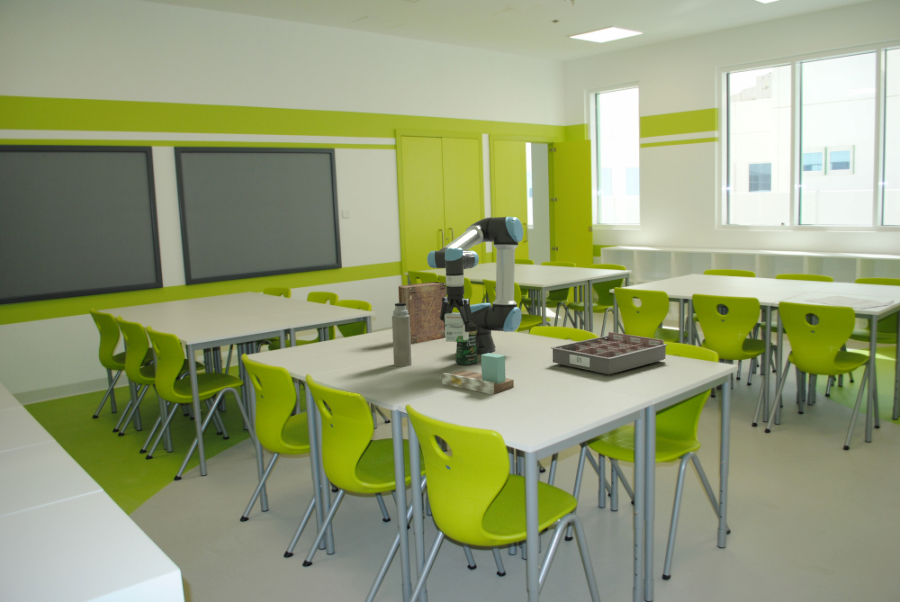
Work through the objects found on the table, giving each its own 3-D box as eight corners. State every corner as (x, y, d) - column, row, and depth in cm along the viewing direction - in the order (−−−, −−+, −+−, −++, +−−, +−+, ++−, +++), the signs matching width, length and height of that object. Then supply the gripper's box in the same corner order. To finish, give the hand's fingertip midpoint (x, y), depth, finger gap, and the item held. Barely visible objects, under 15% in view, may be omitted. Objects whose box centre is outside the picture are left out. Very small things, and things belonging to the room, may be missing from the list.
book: (410, 344, 346) (408, 287, 342) (400, 341, 353) (397, 286, 349) (447, 337, 362) (445, 282, 358) (436, 335, 369) (435, 281, 365)
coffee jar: (462, 366, 292) (461, 324, 289) (453, 363, 298) (452, 322, 296) (480, 363, 297) (479, 322, 294) (470, 360, 303) (469, 320, 301)
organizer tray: (550, 365, 289) (549, 343, 288) (608, 351, 313) (608, 331, 312) (609, 378, 264) (609, 354, 263) (667, 362, 288) (668, 340, 287)
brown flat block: (441, 383, 263) (441, 373, 262) (463, 377, 272) (463, 366, 272) (492, 394, 245) (491, 383, 244) (513, 387, 254) (513, 376, 254)
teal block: (481, 380, 254) (481, 354, 253) (489, 378, 258) (488, 352, 256) (498, 383, 249) (497, 357, 248) (505, 381, 252) (504, 355, 251)
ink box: (468, 339, 279) (467, 312, 277) (464, 342, 275) (464, 314, 273) (449, 339, 282) (448, 311, 280) (445, 341, 277) (444, 313, 276)
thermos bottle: (399, 362, 304) (396, 301, 300) (414, 363, 301) (412, 302, 297) (390, 365, 297) (388, 304, 293) (406, 367, 294) (403, 304, 290)
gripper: (429, 284, 280) (431, 336, 283) (468, 287, 265) (470, 342, 268) (442, 282, 285) (444, 333, 288) (481, 285, 270) (482, 339, 273)
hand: (456, 338), depth 278 cm, fingers closed on ink box, 9 cm apart
